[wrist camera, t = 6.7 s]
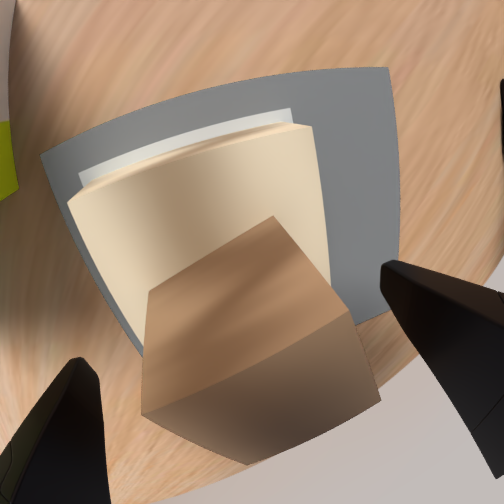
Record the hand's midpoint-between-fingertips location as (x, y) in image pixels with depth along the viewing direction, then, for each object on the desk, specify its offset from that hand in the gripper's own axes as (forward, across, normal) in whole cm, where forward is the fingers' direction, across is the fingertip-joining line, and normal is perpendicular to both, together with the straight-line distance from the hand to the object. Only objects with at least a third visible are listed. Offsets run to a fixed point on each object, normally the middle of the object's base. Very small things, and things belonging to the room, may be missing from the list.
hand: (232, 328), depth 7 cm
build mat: (+7, -2, +2) cm, 7 cm away
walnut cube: (+3, 0, +2) cm, 3 cm away
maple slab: (+6, 0, 0) cm, 6 cm away
